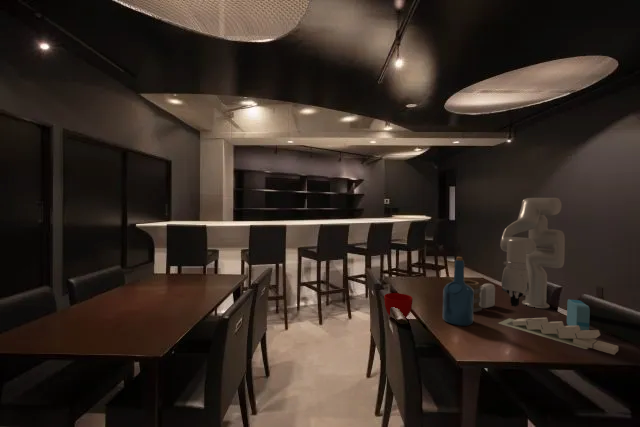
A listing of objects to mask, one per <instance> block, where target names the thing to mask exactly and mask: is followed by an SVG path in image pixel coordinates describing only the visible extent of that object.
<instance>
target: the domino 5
mask: <svg viewBox="0 0 640 427" xmlns="http://www.w3.org/2000/svg"><path fill="white" fill-rule="evenodd" d="M573 343H575V344H579V345H582V346H586V347H589V348H588V349H594V350H597V351H599V352H604V353H606V354H609V355H613V356H615V355H616V353H618V352H619V345H616V344H612V343H609V342H606V341H602V340H598V339H596V338H573Z"/></svg>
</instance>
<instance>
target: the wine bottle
mask: <svg viewBox="0 0 640 427" xmlns="http://www.w3.org/2000/svg"><path fill="white" fill-rule="evenodd" d="M453 267H454V271H453V280H454V281H453V282H450V283H449V282H448V283H446V285H444V287H443V290H442V315H441V316H442V320H443V321H445V322H446V323H448V324H451V325H455V326H461V327H463V326H465V327H467V326H471V325H473V322H474V313H475V312H474V290H473V289H472V287H470V286H469V285H467V284H466V283H465V282H464V280H465V260H464V259H463V256H456V259H454V265H453Z"/></svg>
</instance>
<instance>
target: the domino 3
mask: <svg viewBox="0 0 640 427" xmlns="http://www.w3.org/2000/svg"><path fill="white" fill-rule="evenodd" d="M579 331H580V327H579V325H576V326H569V325H564V326H563V327H561V328H560V329H541V332H542V334H565V333H577V332H579Z"/></svg>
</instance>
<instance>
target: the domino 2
mask: <svg viewBox="0 0 640 427" xmlns="http://www.w3.org/2000/svg"><path fill="white" fill-rule="evenodd" d="M563 326H565V325H564V322H563V321H562V320H561V321H548V322H547V323H545V324H544V325H526V327H527V330H532V329H560V328H561V327H563Z"/></svg>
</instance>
